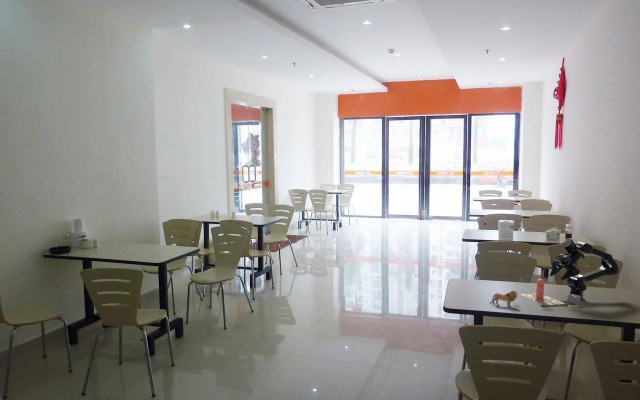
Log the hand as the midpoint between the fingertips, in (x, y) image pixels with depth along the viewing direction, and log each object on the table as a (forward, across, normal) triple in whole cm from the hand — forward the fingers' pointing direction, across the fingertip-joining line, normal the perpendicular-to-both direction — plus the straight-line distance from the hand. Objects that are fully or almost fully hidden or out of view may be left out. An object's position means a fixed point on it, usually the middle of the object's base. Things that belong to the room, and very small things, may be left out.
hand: (555, 277), depth 281 cm
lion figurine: (+36, +3, -16) cm, 39 cm away
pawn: (+18, +3, 0) cm, 18 cm away
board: (+16, 0, +4) cm, 16 cm away
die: (+6, +9, +14) cm, 17 cm away
